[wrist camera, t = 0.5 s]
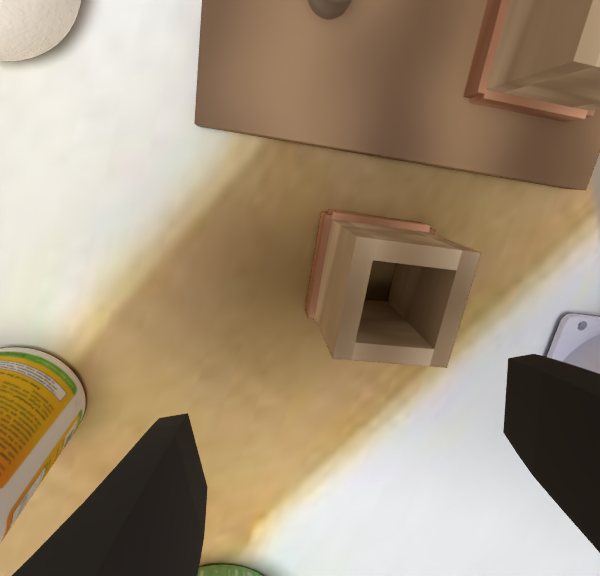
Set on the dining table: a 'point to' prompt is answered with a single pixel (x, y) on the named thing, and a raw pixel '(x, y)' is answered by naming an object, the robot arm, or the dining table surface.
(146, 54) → the dining table surface
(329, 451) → the dining table surface
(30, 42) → the garlic bulb
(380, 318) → the banded sleeve
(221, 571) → the ramekin
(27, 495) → the supplement bottle
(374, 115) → the pin board
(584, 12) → the seated sleeve
